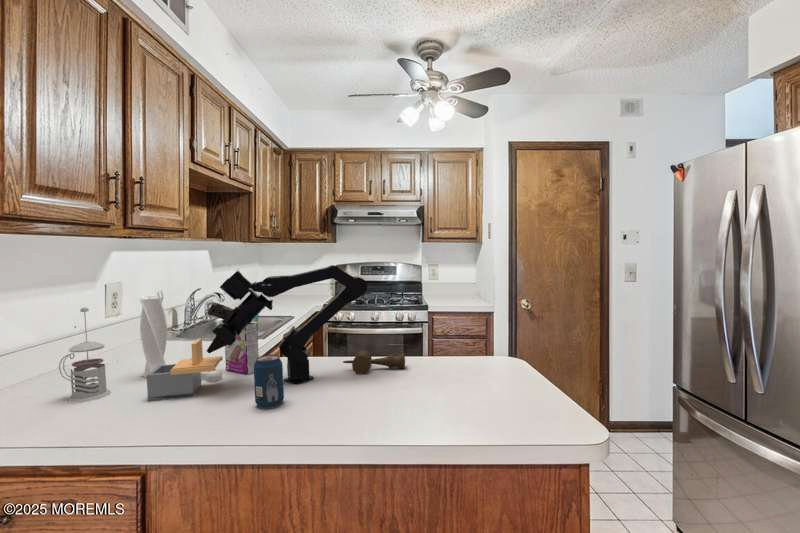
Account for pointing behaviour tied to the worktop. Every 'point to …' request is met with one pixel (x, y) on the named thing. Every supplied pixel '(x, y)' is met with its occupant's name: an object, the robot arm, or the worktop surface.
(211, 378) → the ball with square handle
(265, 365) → the soda can
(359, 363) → the kendama
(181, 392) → the housing
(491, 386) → the worktop surface
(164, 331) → the skyscraper
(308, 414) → the worktop surface
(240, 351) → the candy bar box
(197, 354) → the lid
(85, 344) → the french press
